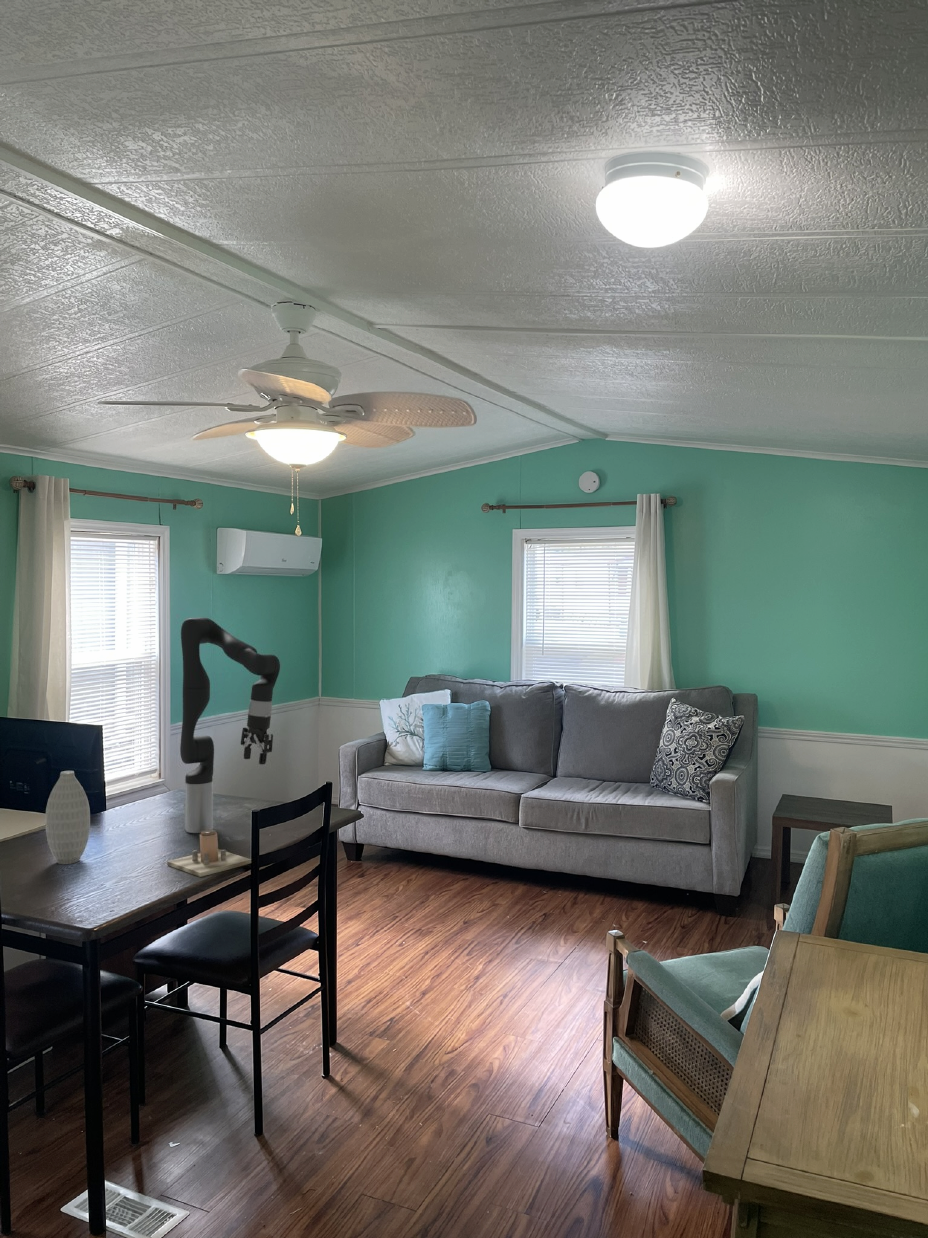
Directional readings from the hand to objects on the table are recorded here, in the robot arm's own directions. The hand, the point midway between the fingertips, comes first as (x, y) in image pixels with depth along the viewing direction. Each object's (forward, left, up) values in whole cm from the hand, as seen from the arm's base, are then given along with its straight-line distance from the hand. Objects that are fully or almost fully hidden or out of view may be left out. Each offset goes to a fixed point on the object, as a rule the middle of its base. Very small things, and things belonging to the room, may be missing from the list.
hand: (254, 761), depth 304 cm
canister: (+10, -24, -26) cm, 37 cm away
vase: (-26, -51, -28) cm, 64 cm away
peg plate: (+10, -24, -27) cm, 38 cm away
